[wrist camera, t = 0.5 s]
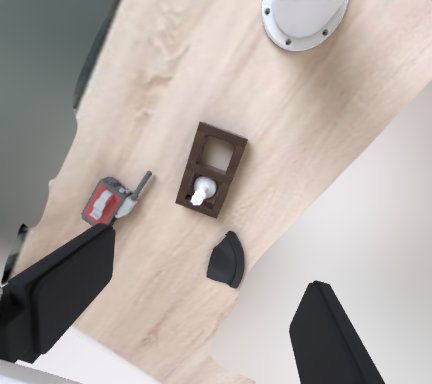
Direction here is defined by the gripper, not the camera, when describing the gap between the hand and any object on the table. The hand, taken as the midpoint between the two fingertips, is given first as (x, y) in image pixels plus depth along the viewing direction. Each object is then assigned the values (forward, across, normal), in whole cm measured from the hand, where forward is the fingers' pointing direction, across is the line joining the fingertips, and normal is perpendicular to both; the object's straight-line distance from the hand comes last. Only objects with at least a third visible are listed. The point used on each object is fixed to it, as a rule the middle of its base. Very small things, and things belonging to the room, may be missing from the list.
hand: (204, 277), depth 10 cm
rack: (+33, +4, +2) cm, 34 cm away
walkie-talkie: (+34, +24, +13) cm, 43 cm away
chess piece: (+34, +5, +6) cm, 34 cm away
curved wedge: (+34, -4, +22) cm, 41 cm away
